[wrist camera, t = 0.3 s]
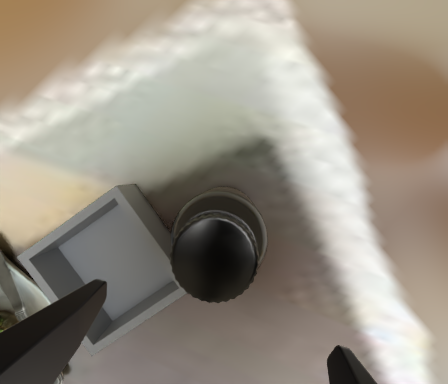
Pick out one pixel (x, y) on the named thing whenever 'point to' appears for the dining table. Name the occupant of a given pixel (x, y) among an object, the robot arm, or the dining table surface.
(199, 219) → the supplement bottle
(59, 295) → the square tray
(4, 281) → the salad plate
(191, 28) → the dining table surface
